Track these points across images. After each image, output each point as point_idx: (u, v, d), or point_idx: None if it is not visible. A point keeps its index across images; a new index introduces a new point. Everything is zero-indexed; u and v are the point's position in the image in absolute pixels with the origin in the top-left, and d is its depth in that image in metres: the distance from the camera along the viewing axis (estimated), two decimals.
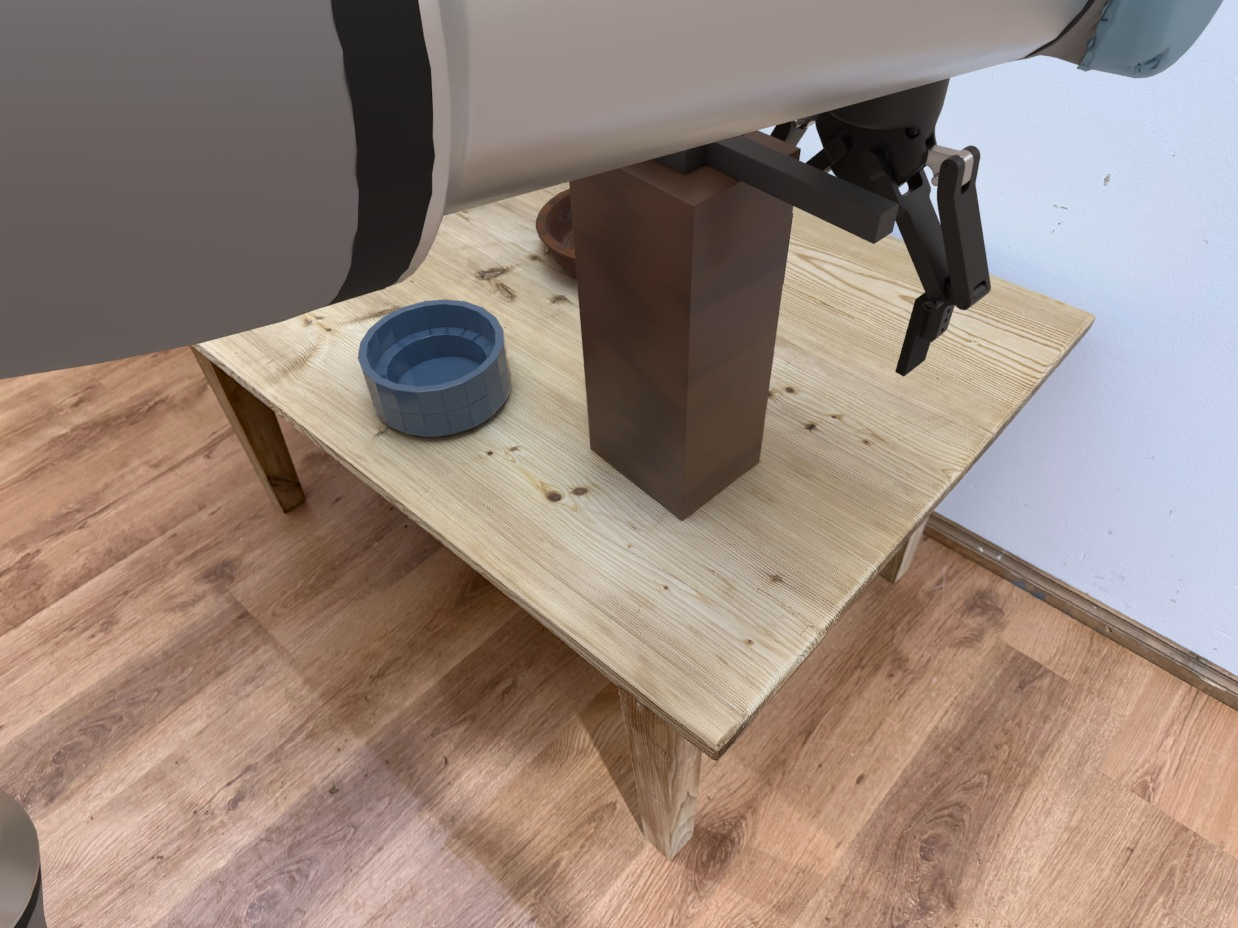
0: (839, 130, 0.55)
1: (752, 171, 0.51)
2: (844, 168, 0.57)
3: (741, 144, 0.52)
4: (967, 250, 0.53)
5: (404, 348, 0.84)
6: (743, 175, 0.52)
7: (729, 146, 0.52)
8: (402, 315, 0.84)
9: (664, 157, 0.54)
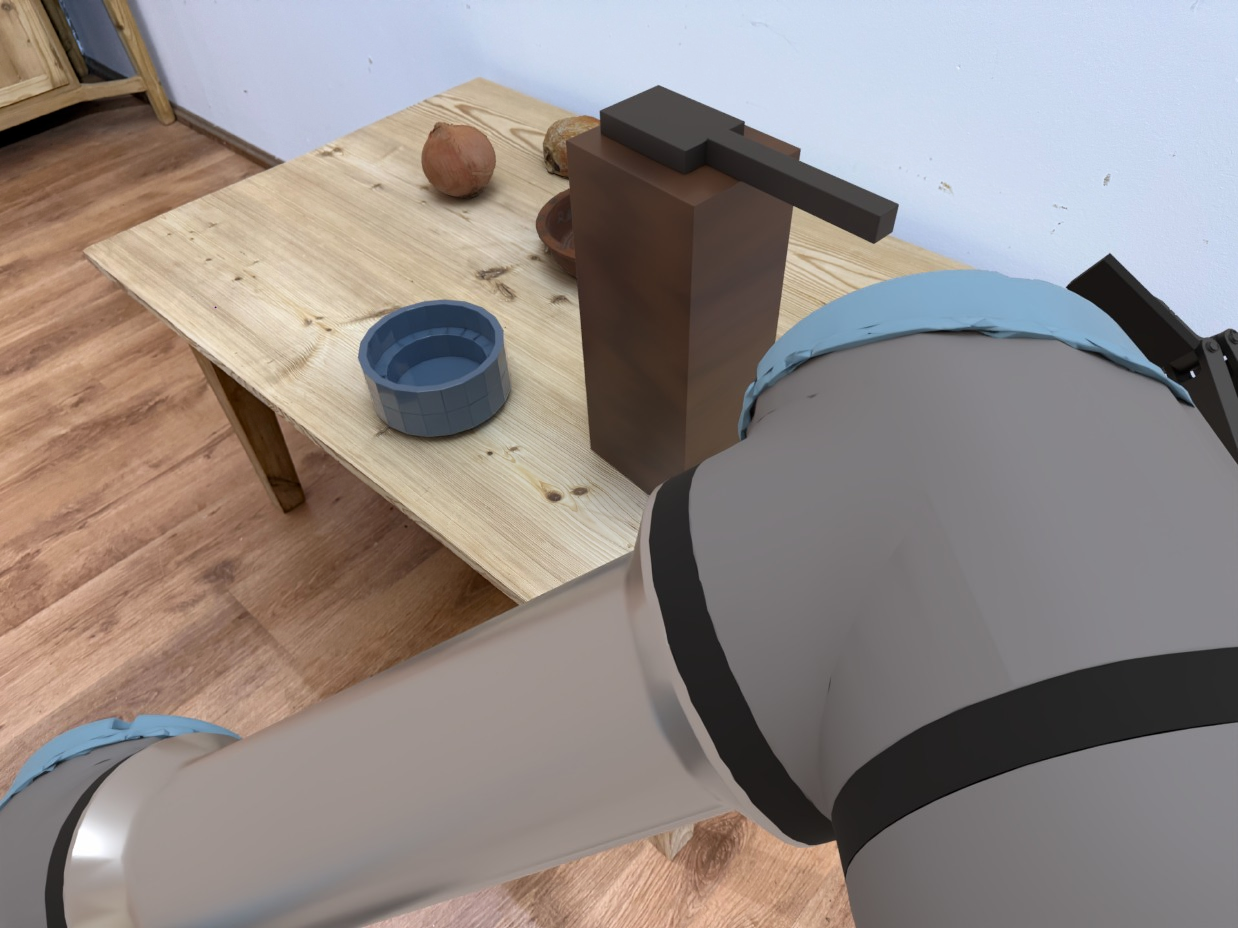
0: None
1: (752, 171, 0.51)
2: None
3: (741, 144, 0.52)
4: None
5: (404, 348, 0.84)
6: (743, 175, 0.52)
7: (729, 146, 0.52)
8: (402, 315, 0.84)
9: (664, 157, 0.54)
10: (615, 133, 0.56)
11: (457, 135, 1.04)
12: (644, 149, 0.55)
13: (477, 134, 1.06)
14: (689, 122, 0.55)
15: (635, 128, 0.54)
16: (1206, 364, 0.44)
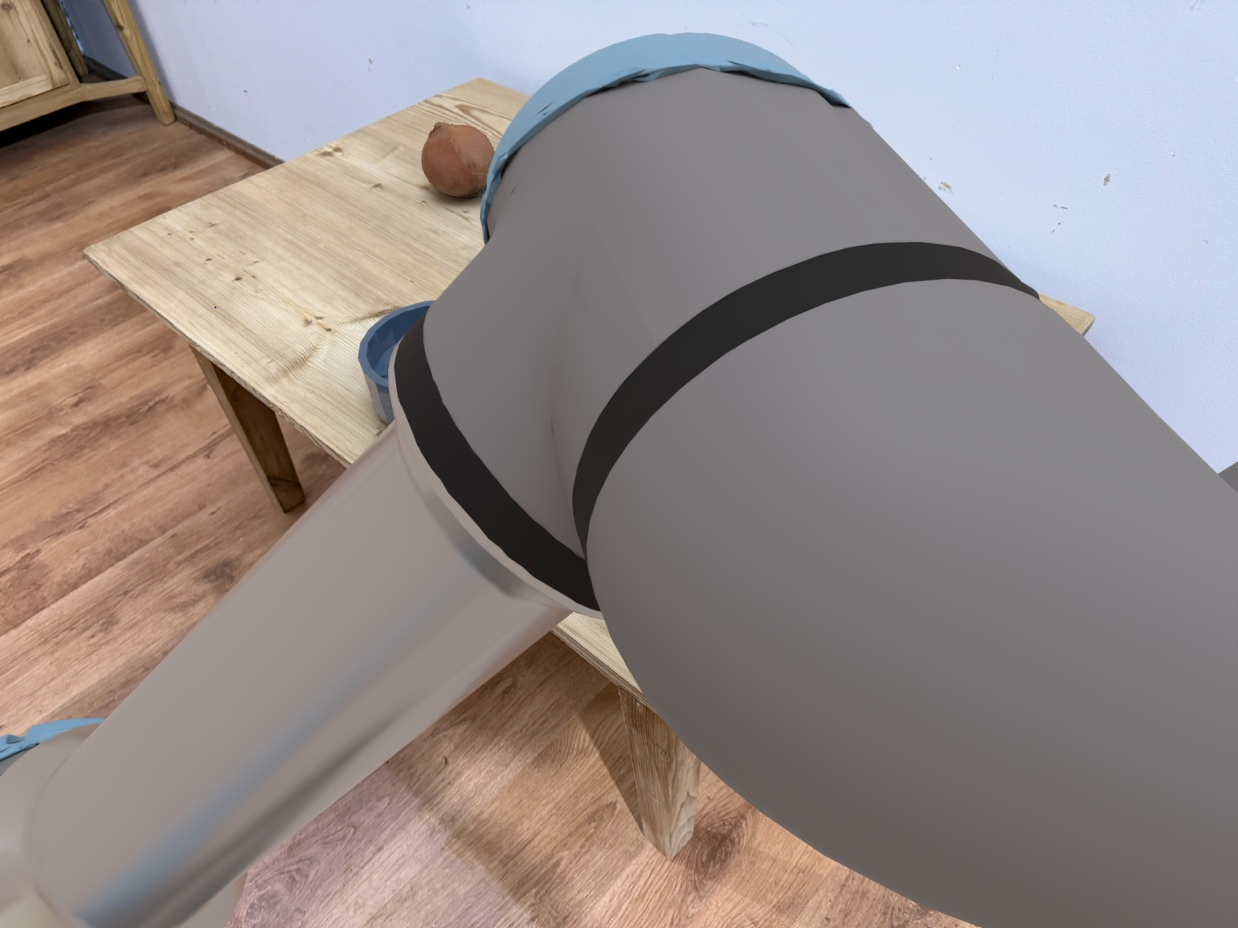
0: None
1: None
2: None
3: None
4: None
5: None
6: None
7: None
8: (402, 315, 0.84)
9: None
10: None
11: (457, 135, 1.04)
12: None
13: (477, 134, 1.06)
14: None
15: None
16: None
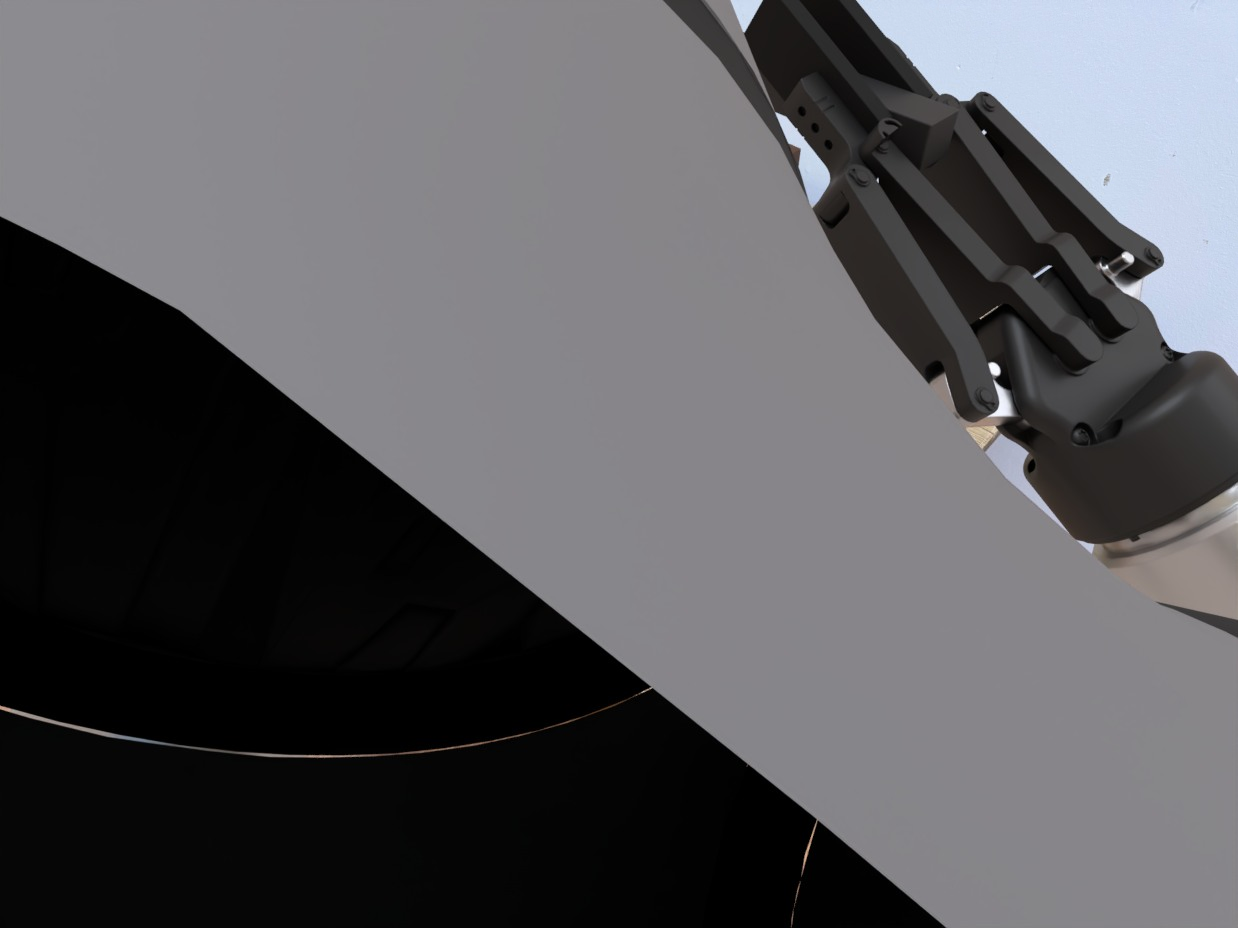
0: None
1: None
2: (1073, 291, 0.31)
3: None
4: (889, 269, 0.29)
5: None
6: None
7: None
8: None
9: None
10: None
11: None
12: None
13: None
14: None
15: None
16: (953, 133, 0.32)
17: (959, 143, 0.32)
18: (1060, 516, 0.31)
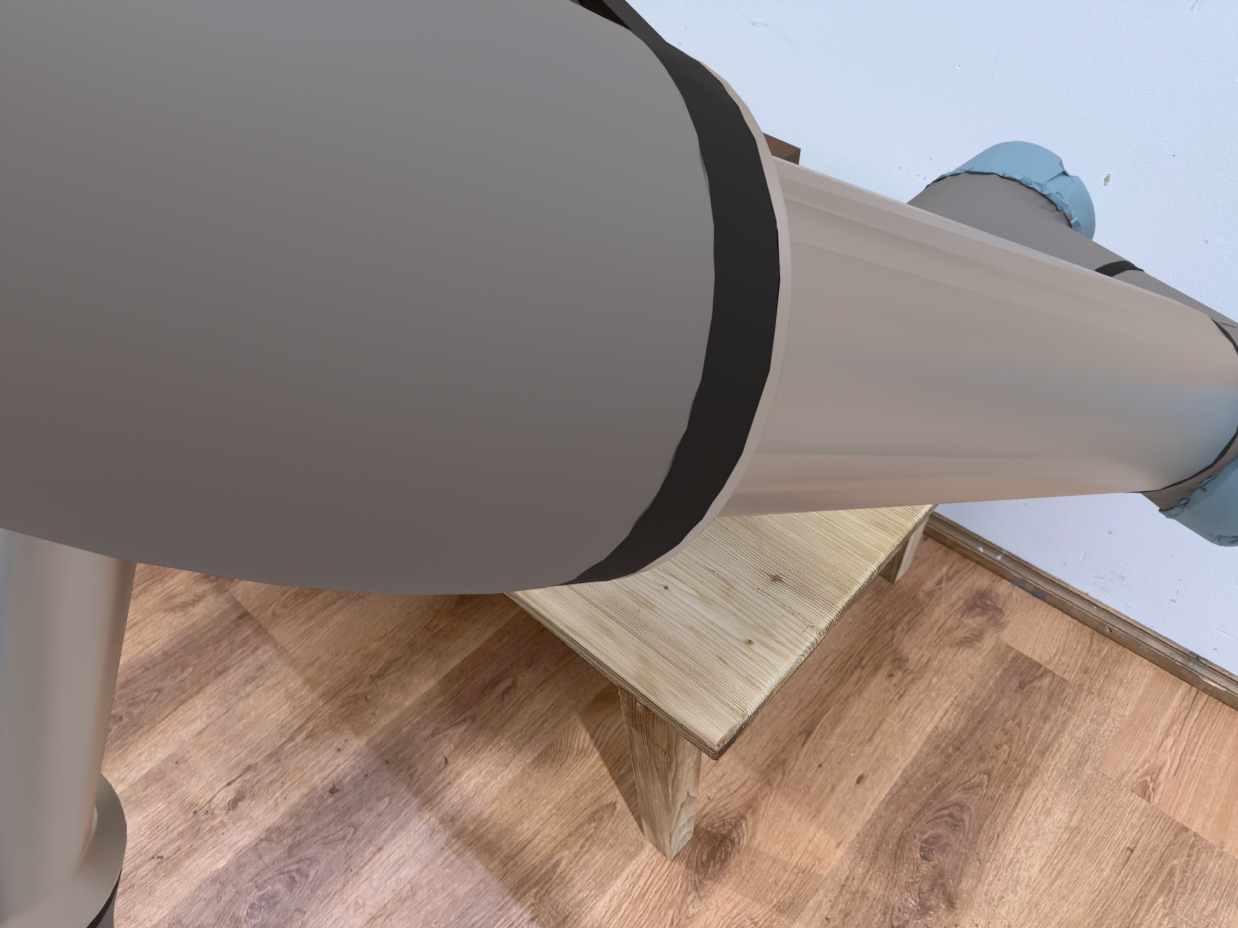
0: None
1: None
2: None
3: None
4: None
5: None
6: None
7: None
8: None
9: None
10: None
11: None
12: None
13: None
14: None
15: None
16: None
17: None
18: None
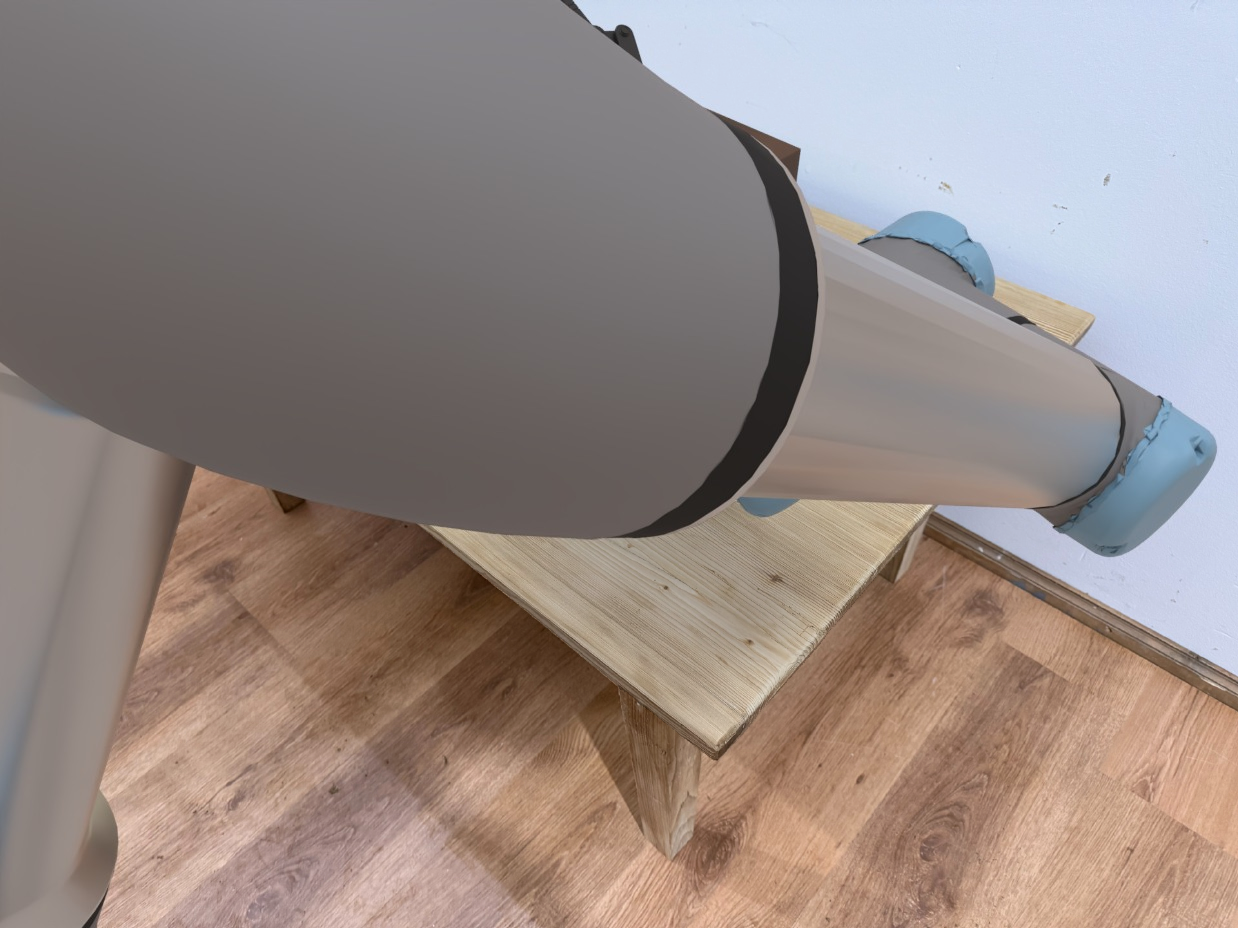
0: None
1: None
2: None
3: None
4: None
5: None
6: None
7: None
8: None
9: None
10: None
11: None
12: None
13: None
14: None
15: None
16: None
17: None
18: None
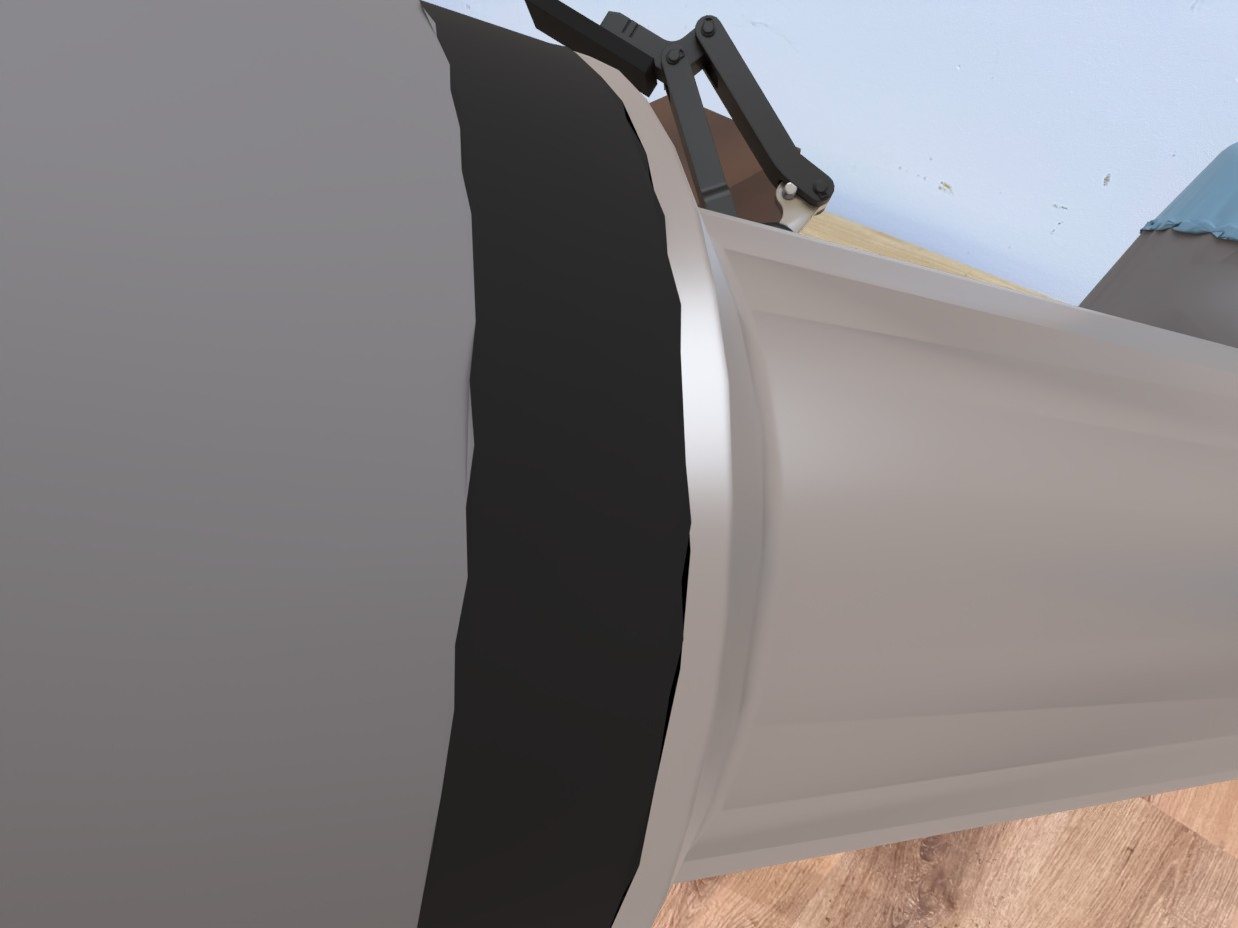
0: None
1: None
2: None
3: None
4: None
5: None
6: None
7: None
8: None
9: None
10: None
11: None
12: None
13: None
14: None
15: None
16: (667, 83, 0.38)
17: (670, 93, 0.38)
18: None
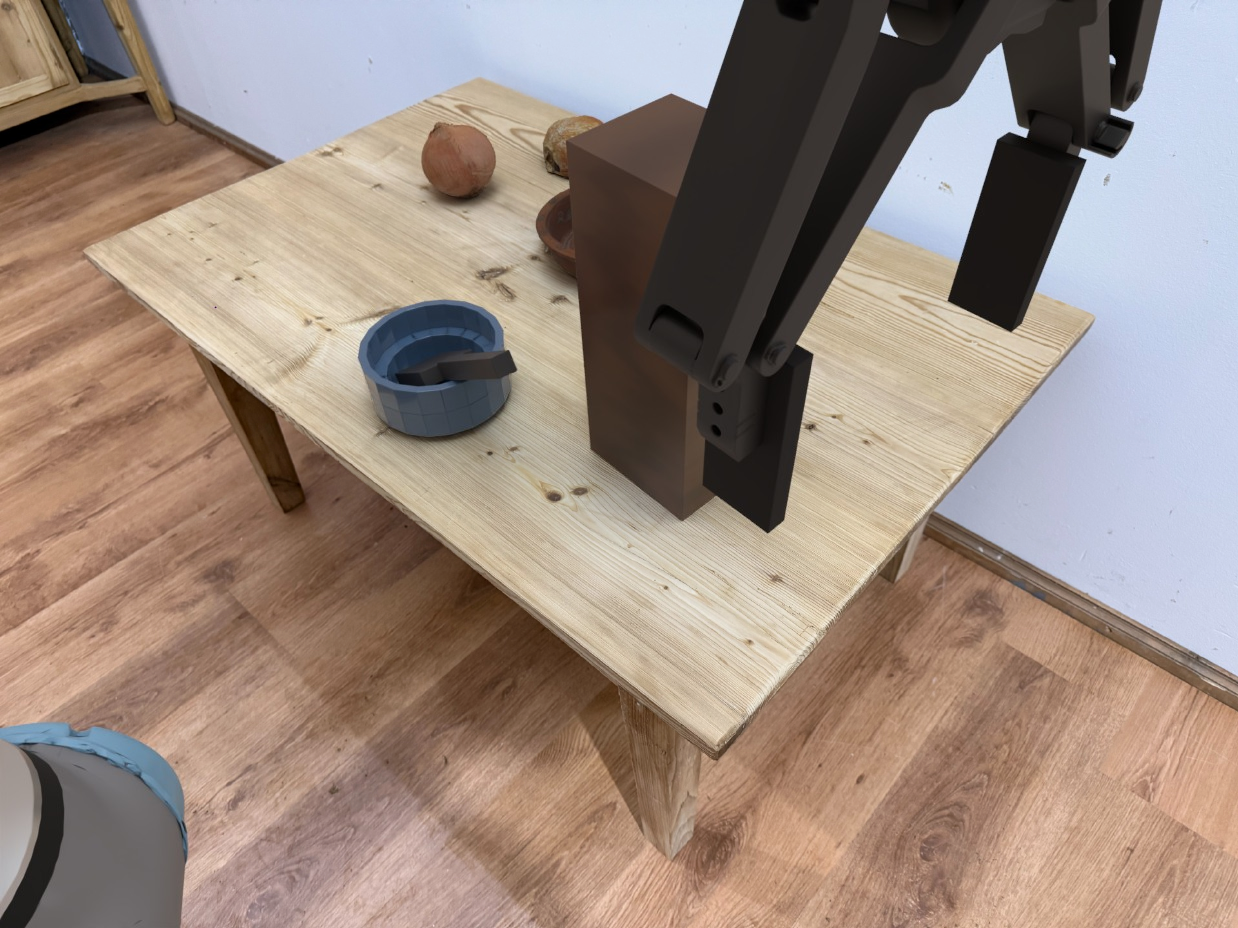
0: None
1: (454, 369, 0.74)
2: None
3: (452, 358, 0.76)
4: None
5: (404, 348, 0.84)
6: (454, 375, 0.75)
7: (444, 361, 0.76)
8: (402, 315, 0.84)
9: (417, 383, 0.79)
10: (403, 383, 0.83)
11: (457, 135, 1.04)
12: (412, 384, 0.80)
13: (477, 134, 1.06)
14: (438, 360, 0.80)
15: (405, 373, 0.81)
16: None
17: None
18: None
